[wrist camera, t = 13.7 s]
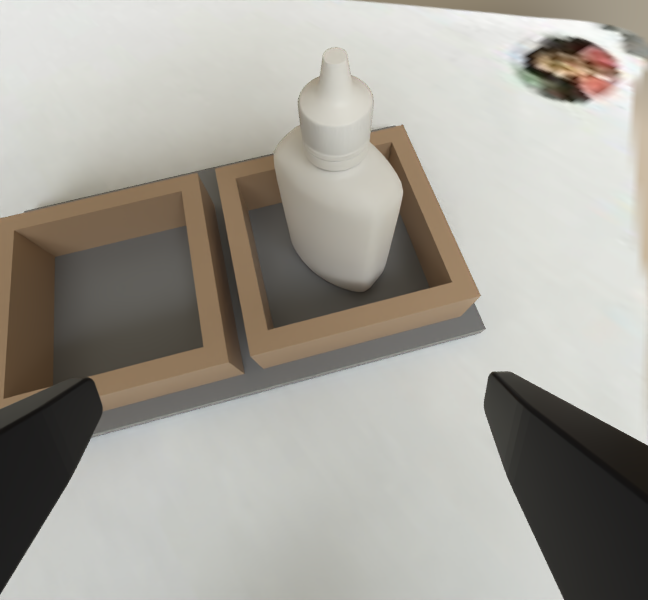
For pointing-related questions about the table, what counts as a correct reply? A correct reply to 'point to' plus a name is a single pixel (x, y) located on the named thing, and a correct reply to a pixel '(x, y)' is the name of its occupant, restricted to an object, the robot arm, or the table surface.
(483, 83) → the table surface
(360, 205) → the eye dropper bottle
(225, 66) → the table surface
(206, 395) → the well tray
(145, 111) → the table surface
